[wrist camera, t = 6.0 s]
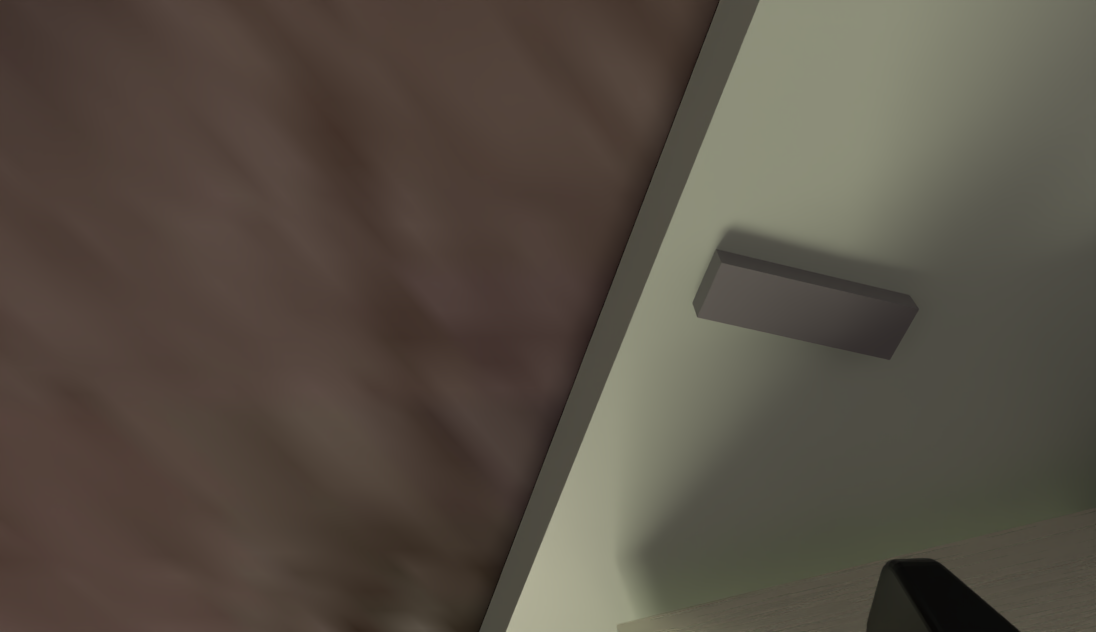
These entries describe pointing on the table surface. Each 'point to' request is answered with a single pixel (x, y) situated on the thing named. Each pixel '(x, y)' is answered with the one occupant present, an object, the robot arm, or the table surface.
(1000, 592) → the dial
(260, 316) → the table surface
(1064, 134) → the dial plate
